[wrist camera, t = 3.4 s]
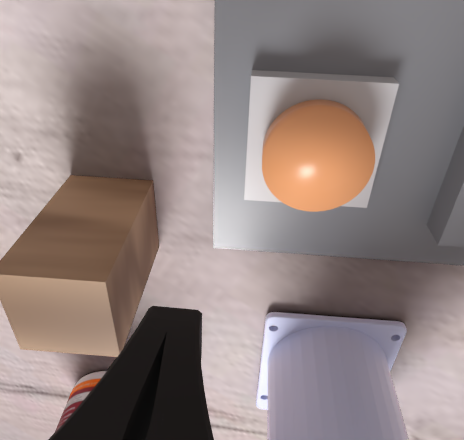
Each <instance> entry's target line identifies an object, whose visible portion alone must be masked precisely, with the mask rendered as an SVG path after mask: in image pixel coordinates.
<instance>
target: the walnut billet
mask: <svg viewBox="0 0 464 440" xmlns="http://www.w3.org/2000/svg"><path fill="white" fill-rule="evenodd" d="M158 248H159V239H158V228H157V217H156V206H155V195H154V184H153V180H138V179H122V178H107V177H91V176H75V175H70V177H69V178H68V179H67V180H66V182H65V183H64V184H63V185H62V186H61V188H60V189H59V190H58V191H57V192H56V194H55V195H54V196H53V197H52V199H51V200H50V201H49V202H48V203H47V205H46V206H45V207H44V208H43V209H42V211H41V212H40V213H39V214H38V216H37V217H36V218H35V219H34V220H33V222H32V223H31V224H30V225H29V226H28V228H27V229H26V230H25V231H24V233H23V234H22V235H21V236H20V237H19V239H18V240H17V241H16V242H15V243H14V245H13V246H12V247H11V248H10V250H9V251H8V252H7V253H6V254H5V256H4V257H3V258H2V259H1V260H0V300H1V303H2V305H3V308H4V310H5V313H6V315H7V317H8V320H9V322H10V325H11V327H12V330H13V332H14V334H15V337H16V339H17V342H18V344H19V347H20V349H24V350H37V351H49V352H61V353H74V354H86V355H98V356H110V357H118V355H119V354H120V352H121V351H122V350H123V348H124V345H125V342H126V339H127V337H128V334H129V331H130V328H131V325H132V322H133V320H134V317H135V314H136V311H137V308H138V305H139V302H140V300H141V297H142V294H143V291H144V288H145V285H146V282H147V280H148V277H149V274H150V271H151V268H152V265H153V262H154V260H155V257H156V254H157V251H158Z"/></svg>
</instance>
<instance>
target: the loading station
mask: <svg viewBox="0 0 464 440" xmlns="http://www.w3.org/2000/svg"><path fill="white" fill-rule="evenodd" d="M317 99H323V100H331V101H335V102H338V103H340V104H343V105H345V106H347V107H348V108H350V109H351V110H352V111H354V112H355V113H356V114H357V115H358V116H359V118H360V119H361V120H362V122H363V124H364V126H365V128H366V130H367V132H368V134H369V136H370V138H371V140H372V142H373V145H374V149H375V165H374V170H373V173H372V176H371V178H370V180H369V182H368V183H367V185H366V186H365V188H364V189H363V190H362V191H361V192H360V193H359V194H358V195H357V196H356V197H355V198H353V199H352V200H351V201H349V202H347V203H346V204H344V205H342V206H339V207H337V208H334V209H331V210H326V211H318V212H309V211H302V210H298V209H295V208H292V207H290V206H288V205H286V204H284V203H282V202H281V201H279V200H278V199H277V198H276V197H275V196H274V195H273V194H272V193H271V191H270V190H269V188H268V187H267V185H266V183H265V180H264V177H263V172H262V148H263V141H264V138H265V135H266V133H267V130H268V128H269V127H270V125H271V124H272V122H273V121H274V120H275V119H276V118H277V117H278V116H279V115H280V114H281V113H282V112H284V111H285V110H286V109H288V108H290V107H291V106H293V105H296V104H298V103H301V102H304V101H308V100H317ZM213 248H221V249H236V250H250V251H264V252H278V253H293V254H307V255H321V256H335V257H350V258H364V259H378V260H392V261H407V262H421V263H435V264H449V265H464V0H215V40H214V208H213Z"/></svg>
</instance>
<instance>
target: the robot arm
mask: <svg viewBox="0 0 464 440" xmlns="http://www.w3.org/2000/svg"><path fill="white" fill-rule="evenodd" d="M272 325H274V326H272ZM406 332H407V329H406V326H405V324H404V323H402V322H399V321H387V320H373V319H360V318H347V317H334V316H321V315H308V314H295V313H282V312H271V313H268V314H267V315H266V318H265V327H264V336H263V344H262V353H261V362H260V371H259V380H258V389H257V397H256V406H257V407H258V408H260V409H265V410H268V438H267V440H409V438H408V434H407V431H406V427H405V423H404V420H403V416H402V413H401V409H400V405H399V402H398V398H397V395H396V391H395V387H394V384H393V380H392V377H391V373H390V371H391V369H392V366H393V364H394V362H395V359H396V357H397V354H398V352H399V349H400V347H401V345H402V342H403V340H404V337H405V335H406ZM201 347H202V313H201V312H200V311H198V310H191V309H180V308H169V307H158V306H152V307H150V308H149V309H148V311H147V312H146V314H145V316H144V318H143V319H142V321H141V323H140V324H139V326H138V327H137V329H136V331H135V332H134V334H133V335H132V337H131V338H130V340H129V341H128V342H127V344H126V345H125V347H124V348H123V350H122V351H121V352H120V354H119V355H118V357H117V358H116V359H115V361H114V362H113V363H112V365H111V366H110V367H109V369H108V370H107V372H106V373H105V374H104V375H103V377H102V378H101V379H100V381H99V382H98V383H97V384H96V386H95V387H94V388H93V389H92V390H91V392H90V393H89V394H88V395H87V397H86V398H85V399H84V400H83V401H82V403H81V404H80V405H79V406H78V407H77V409H76V410H75V411H74V412H73V413H72V414H71V416H70V417H69V418H68V419H67V420H66V421H65V422H64V423H63V425H62V426H61V427H60V428H59V429H58V430H57V431H56V432H55V433H54V434H53V435H52V436H51V437H50V439H49V440H214V439H213V434H212V430H211V425H210V420H209V415H208V409H207V404H206V398H205V392H204V385H203V377H202V370H201Z"/></svg>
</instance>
